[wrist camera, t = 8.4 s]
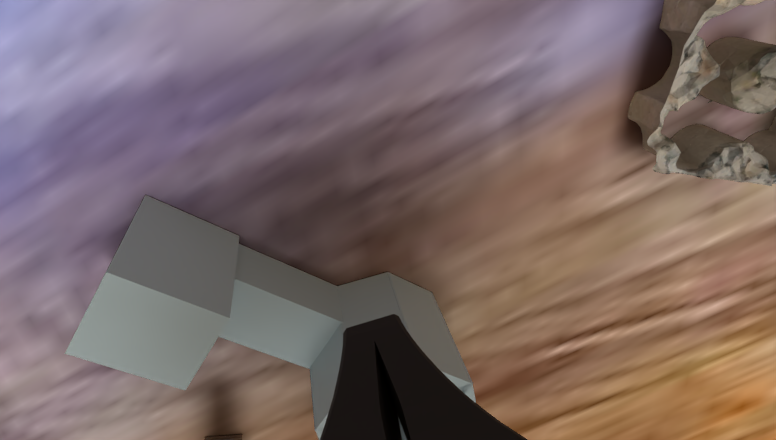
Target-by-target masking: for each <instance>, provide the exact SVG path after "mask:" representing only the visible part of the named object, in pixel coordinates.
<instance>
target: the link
mask: <svg viewBox="0 0 776 440" xmlns="http://www.w3.org/2000/svg"><path fill="white" fill-rule="evenodd" d="M239 237H240V236H238V235H236V234H234V233H231V232H229V231H227V230H225V229H222V228H220V227H218V226H215V225H213V224H211V223H209V222H206V221H204V220H202V219H199V218H197V217H195V216H193V215H190V214H188V213H186V212H184V211H181V210H179V209H177V208H174V207H172V206H170V205H168V204H165V203H163V202H161V201H158V200H156V199H154V198H152V197H149V196H147V195H145V197H144V199H143V201H142V203H141V204H140V206H139V208H138V210H137V212H136V214H135V216H134V218H133V220H132V222H131V224H130V226H129V228H128V230H127V232H126V234H125V236H124V238H123V240H122V242H121V244H120V246H119V248H118V250H117V252H116V254H115V256H114V258H113V260H112V261H111V263H110V265H109V267H108V269H107V271H106V273H105V275H104V277H103V279H102V281H101V283H100V285H99V287H98V289H97V291H96V293H95V295H94V297H93V299H92V301H91V303H90V305H89V307H88V309H87V311H86V313H85V315H84V317H83V319H82V321H81V323H80V325H79V327H78V329H77V331H76V333H75V335H74V337H73V338H72V340H71V342H70V344H69V346H68V348H67V350H66V352H65V354H68V355H71V356H74V357H78V358H81V359H84V360H87V361H91V362H94V363H97V364H100V365H104V366H107V367H110V368H114V369H117V370H120V371H123V372H127V373H130V374H133V375H136V376H140V377H143V378H146V379H149V380H153V381H156V382H159V383H162V384H166V385H169V386H172V387H175V388H179V389H182V390H186V389H187V387H188V385H189V384H190V382H191V381H192V379H193V377H194V376H195V374H196V373H197V371H198V369H199V368H200V366H201V364H202V363H203V361H204V360H205V358H206V356H207V355H208V353H209V351H210V350H211V348H212V347H213V345H214V343H215V342H216V340H217V338H218V337H221V338H223V339H226V340H229V341H232V342H235V343H238V344H240V345H243V346H246V347H249V348H252V349H254V350H257V351H260V352H263V353H266V354H269V355H271V356H274V357H277V358H280V359H283V360H285V361H288V362H291V363H294V364H297V365H299V366H302V367H305V368H308V369H310V377H311V389H312V401H313V413H314V425H315V431H316V433H317V435H318V438H319V440H320V437H321V435H322V432H323V429H324V426H325V423H326V419H327V416H328V412H329V409H330V406H331V402H332V399H333V395H334V391H335V386H336V382H337V377H338V373H339V368H340V362H341V356H342V347H343V333H344V331H345V330H346V328H349V327H352V326H355V325H359V324H362V323H365V322H368V321H372V320H375V319H378V318H382V317H385V316H388V315H392V314H395V315H397V316H399V317H400V319H401V321H402V323H403V325H404V327H405V328H406V330H407V331H408V333H409V334H410V335H411V337H412V338H413V340H414V341H415V342H416V343H417V345H418V346H419V347H420V348H421V350H422V351H423V352H424V353H425V354H426V355H427V357H428V358H429V359H430V360H431V361H432V362H433V363H434V364H435V365H436V366H437V368H438V369H439V370H440V371H441V372H442V373H443V374H444V375H445V376H446V377H447V378H448V379H449V380H450V381H451V382H453V383H454V384H455V385H456V386H457V387H458V388H459V389H460V390H461V391H462V392H463V393H464V394H466V395H467V396H468V397H469V398H470V399H471V400H473V401H474V402H475V403H476V401H475V395H474V390H473V382H472V380H471V378H470V376H469V373H468V371H467V369H466V367H465V365H464V362H463V360H462V358H461V356H460V353H459V351H458V349H457V347H456V344H455V342H454V340H453V338H452V336H451V333H450V331H449V329H448V327H447V324H446V322H445V320H444V318H443V315H442V313H441V311H440V309H439V307H438V304H437V302H436V300H435V298H434V295H433V293H432V292H430V291H428V290H426V289H424V288H421V287H419V286H417V285H415V284H413V283H411V282H408V281H406V280H404V279H402V278H400V277H398V276H395V275H393V274H391V273H389V272H386V273H383V274H379V275H375V276H372V277H368V278H365V279H361V280H358V281H354V282H350V283H347V284H343V285H340V286H336V285H333V284H331V283H329V282H326V281H324V280H322V279H319V278H317V277H315V276H312V275H310V274H308V273H306V272H303V271H301V270H299V269H296V268H294V267H292V266H289V265H287V264H285V263H282V262H280V261H278V260H275V259H273V258H271V257H269V256H266V255H264V254H262V253H259V252H257V251H255V250H252V249H250V248H248V247H245V246H243V245H241V244H239ZM398 418H399V417H398ZM399 424H400V430H401V436H402V440H407V439H406V436H405V433H404V431H403V428H402V425H401V423H400V420H399Z"/></svg>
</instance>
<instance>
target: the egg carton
mask: <svg viewBox="0 0 776 440" xmlns="http://www.w3.org/2000/svg"><path fill="white" fill-rule="evenodd" d="M762 1H764V0H664V5H663V11H662V18H661V23H660V29H661V30H663V31H664V32H665V33H666V34H667V35H668V37H669V38H670V39H671V42H672V59H671V63H670V66H669V68H668V69H667V71H666V73H665V74H664V76H663V78H662V79H661V80H659V81H658V82H657V83H656V84H654V85H653V86H651V87H649V88H648V89H645V90H641V91H636V92H635V94H634V96H633V98H632V100H631V103H630V106H629V111H628V119H630V120H632V121H634V122H636V123H637V124H638V125H639V126H640V128H641V131H642V134H643V149H644V150H647V151H649V152H651V153H653V154H655V155H657V157H656V165H655V166H654V167H653V170H654V171H655V172H659V173H663V174H670V172H672V173H681V174H687V175H693V176H697V177H700V178H707V179H724V180H731V181H737V182H749V183H755V184H763V185H769V186H772V184H776V116H775V118H774V120H773V123H772V125H771V127H770V128H769V129H768V130H764V131H760V132H757V133H755V134H753V135H751V136H749V137H748V138H747V139H746V140H745V141H741V140H738V139H736V138H733V137H731V136H729V135H726V134H724V133H721V132H719V131H717V130H715V129H712V128H710V127H707V126H705V125H700V124H695V125H690V126H687V127H685V128H683V129H682V130H680V131H679V132H677V133H676V134H675V135H674V136H673V137H672V138H671V139H669V138H668V137H666V136H664V135H663V134H661V133H660V131H661V129H662V127H663V121H664V119H665V117H666V115H667V114H668V112H669V111H678V110H679V108H680V107H681V105H683V104H684V103H687V102H689V101H691V100H693V99H695V98H696V97H697V96H698V94H700V95H702V96H704V97H705V98H708V99H710V100H711V101H715V102H718V103H720V104H723V105H726V106H729V107H731V108H734V109H737V110H740V111H744V112H747V113H757V114H764V113H767V112H769V111H772V110H773V109H775V108H776V45H773V44H768V43H763V42H758V41H753V40H749V39H744V38H739V37H725V38H722V39H718V40H717V41H715V42H713V43H712V44H711V45H710V46H708V47H707V48H706V45H705V41H704V40H703V39H702V38H700V37H698V36H697V33H698V32H699V30H700V29H701V27H702V26H703V25H704V23H706V22H707V21H708V20H710V19H711V18H713V17H716V16H719V15H721V14H724V13H726V12H728V11H730V10H731V9H733V8H735V7H737V6H739V5H740V4H741V5H743V6H746V5H755V4H757V3H760V2H762ZM711 101H709V102H711ZM709 102H708V103H709Z"/></svg>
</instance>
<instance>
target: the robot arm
mask: <svg viewBox="0 0 776 440" xmlns="http://www.w3.org/2000/svg"><path fill="white" fill-rule="evenodd" d="M398 417H399V418H398ZM399 420H400V423H401V425H402V428H403V431H404V433H405V436H406V439H407V440H527V439H526V438H524V437H523V436H521V435H520V434H518V433H516V432H515V431H513V430H512V429H510V428H509V427H507V426H506V425H504V424H503V423H501V422H500V421H498V420H497V419H496V418H494V417H493V416H492V415H490V414H489V413H488V412H486V411H485V410H484V409H483V408H481V407H480V406H479V405H478V404H476V403H475V402H474V401H473V400H471V399H470V398H469V397H468V396H467V395H466V394H464V393H463V392H462V391H461V390H460V389H459V388H458V387H457V386H456V385H455V384H454V383H453V382H451V381H450V380H449V379H448V378H447V377H446V376H445V375H444V374H443V373H442V372H441V371H440V370H439V369H438V368H437V366H436V365H435V364H434V363H433V362H432V361H431V360H430V359H429V358H428V357H427V355H426V354H425V353H424V352H423V351H422V350H421V348H420V347H419V346H418V345H417V343H416V342H415V341H414V340H413V338H412V337H411V335H410V334H409V333H408V331H407V330H406V328H405V327H404V325H403V323H402V321H401V319H400V317H399V316H397V315H395V314H392V315H388V316H385V317H382V318H378V319H375V320H372V321H368V322H365V323H362V324H359V325H355V326H352V327H349V328H346V330H345V331H344V333H343V347H342V356H341V362H340V368H339V373H338V377H337V382H336V386H335V391H334V395H333V399H332V402H331V406H330V409H329V412H328V416H327V419H326V423H325V426H324V429H323V432H322V435H321V437H320V440H402V436H401V430H400V424H399Z"/></svg>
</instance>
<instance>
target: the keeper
mask: <svg viewBox="0 0 776 440" xmlns="http://www.w3.org/2000/svg"><path fill="white" fill-rule="evenodd" d="M205 440H242V434H241V435H226V436H211V437H205Z"/></svg>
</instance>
